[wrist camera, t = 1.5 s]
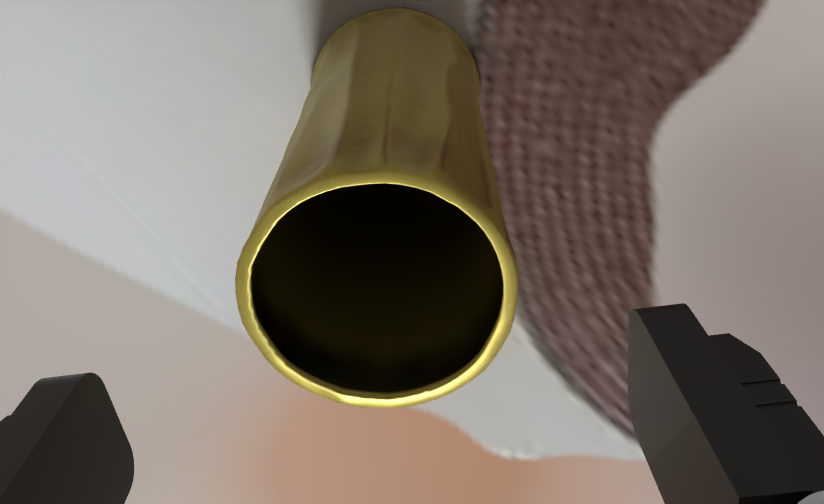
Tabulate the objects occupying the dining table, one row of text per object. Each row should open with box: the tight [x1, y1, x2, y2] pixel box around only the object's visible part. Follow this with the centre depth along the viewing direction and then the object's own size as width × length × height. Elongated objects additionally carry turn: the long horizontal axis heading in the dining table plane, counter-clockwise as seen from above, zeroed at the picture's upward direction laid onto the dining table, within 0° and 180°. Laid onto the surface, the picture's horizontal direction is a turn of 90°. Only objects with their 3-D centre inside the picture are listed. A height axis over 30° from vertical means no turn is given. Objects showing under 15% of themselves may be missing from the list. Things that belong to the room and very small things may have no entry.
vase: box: [235, 8, 518, 408], centre depth 19 cm, size 6×6×14 cm
